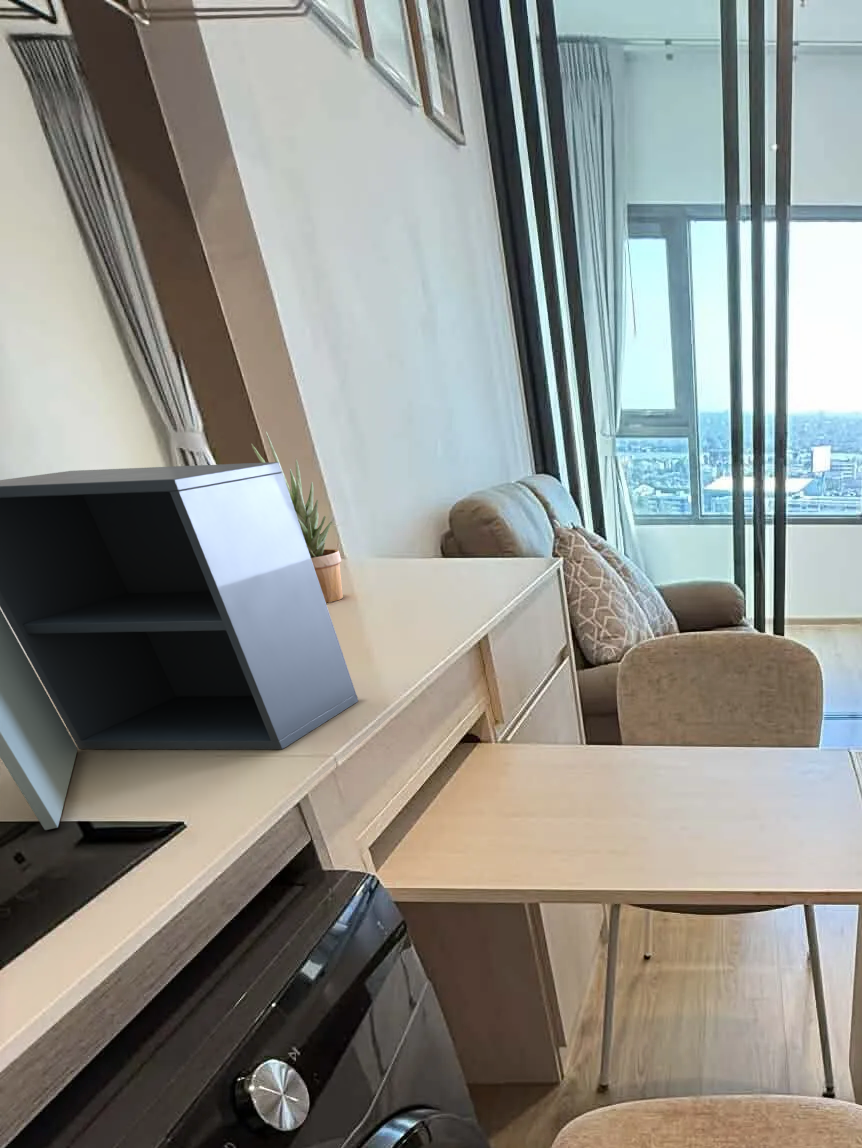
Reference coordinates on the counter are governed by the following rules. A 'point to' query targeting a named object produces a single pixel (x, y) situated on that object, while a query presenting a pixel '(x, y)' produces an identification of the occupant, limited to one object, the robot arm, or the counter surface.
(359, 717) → the counter surface
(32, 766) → the door
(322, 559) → the potted plant
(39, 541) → the cupboard
